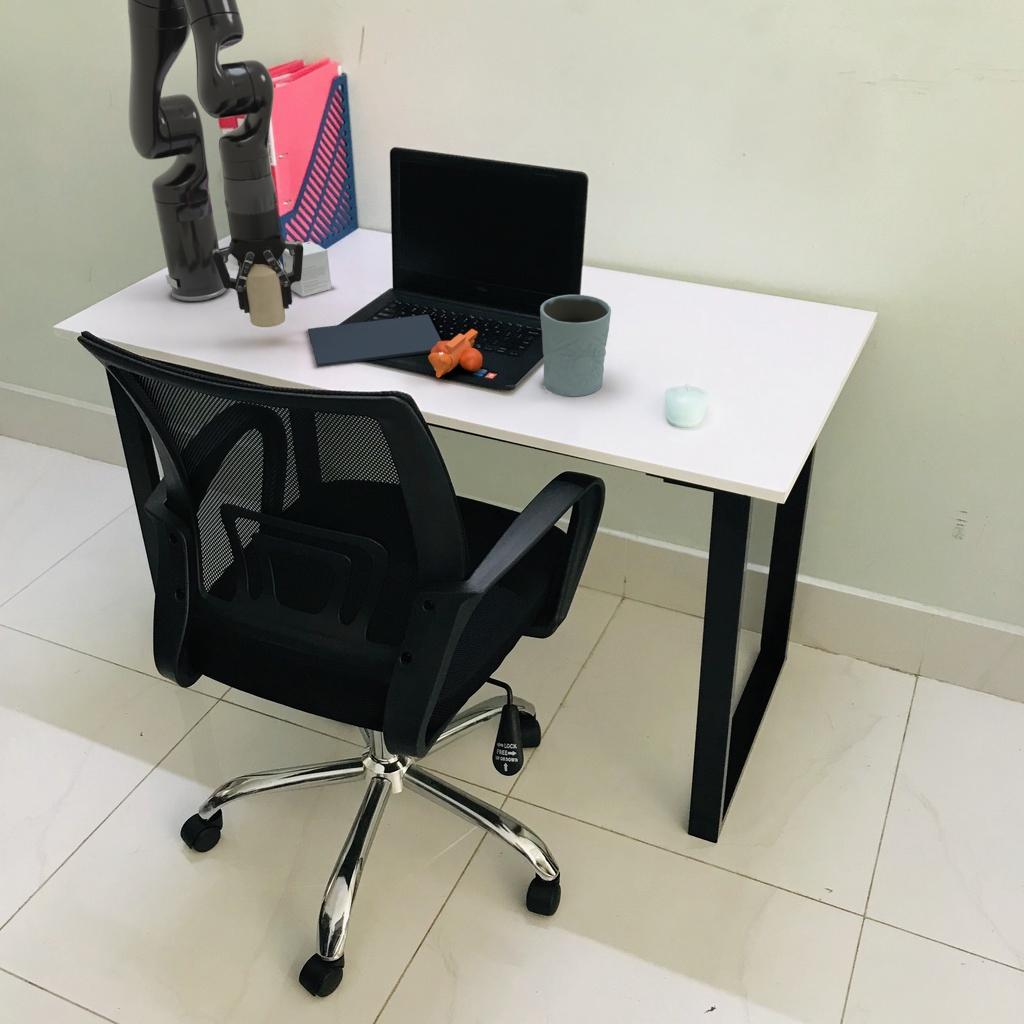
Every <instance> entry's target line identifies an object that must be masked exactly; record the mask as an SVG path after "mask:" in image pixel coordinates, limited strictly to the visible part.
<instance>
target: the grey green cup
mask: <svg viewBox="0 0 1024 1024" xmlns="http://www.w3.org/2000/svg"><path fill="white" fill-rule="evenodd" d="M539 314H540V327H541V340H542V354H543V358H542V359H543V382H544V386H545V388H546V389H547V390H548V391H549V392H551V393H553V394H556V395H558V396H562V397H563V396H564V397H584V396H585V397H586V396H589V395H592V394H594V393H596V392H597V391H599V390H600V389H601V387H602V384H603V380H604V371H605V367H604V366H605V365H604V363H605V357H606V354H607V351H606V346H607V342H608V338H609V337H608V336H609V331H610V322H611V314H612V309H611V306H610V305H609V304H608V303H607V302H606V301H605V300H603V299H601V298H598V297H595V296H593V295H585V294H563V295H558V296H554V297H551V298H549V299H547V300H545V301H544V302H542V304H540V308H539Z"/></svg>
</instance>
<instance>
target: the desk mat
mask: <svg viewBox="0 0 1024 1024" xmlns="http://www.w3.org/2000/svg"><path fill="white" fill-rule="evenodd" d="M307 330H308V334H309V339H310V343H311V346H312V349H313V355H314V358H315V361H316V362H315V363H316V365H317V368H318V367H325V366H326V367H328V366H336V365H344V364H352V363H359V362H367V361H376V360H382V359H383V360H384V359H391V358H399V357H407V356H414V355H422V354H423V355H424V354H431V350H432V348H434V347H435V346H436V344H437V342H439V341H442V339H441V337H440V335H439V333H438V330H437V329H436V327H435V325H434V323H433V321H432V319H431V317H430V315H429V314H420V315H413V316H404V317H403V316H402V317H395V318H387V319H378V320H370V321H369V320H368V321H361V322H352V323H345V324H344V323H343V324H335V325H328V326H320V327H319V326H318V327H311V328H308V329H307Z"/></svg>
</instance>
